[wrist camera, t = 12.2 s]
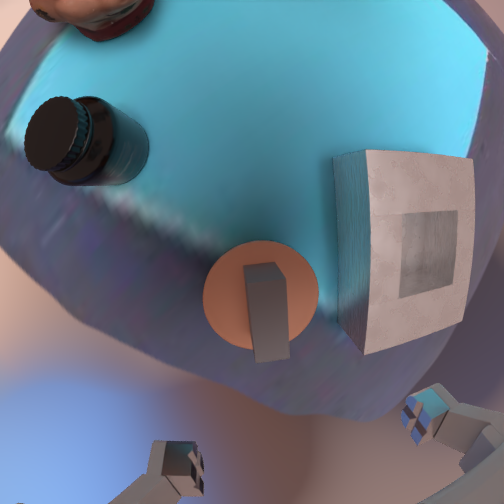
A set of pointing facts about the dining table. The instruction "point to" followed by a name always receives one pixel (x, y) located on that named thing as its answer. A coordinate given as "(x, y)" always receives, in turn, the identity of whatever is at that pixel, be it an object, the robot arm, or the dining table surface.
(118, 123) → the supplement bottle
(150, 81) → the dining table surface
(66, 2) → the brown ceramic cup shape
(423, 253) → the housing
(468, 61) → the dining table surface
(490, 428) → the robot arm
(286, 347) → the end cover
